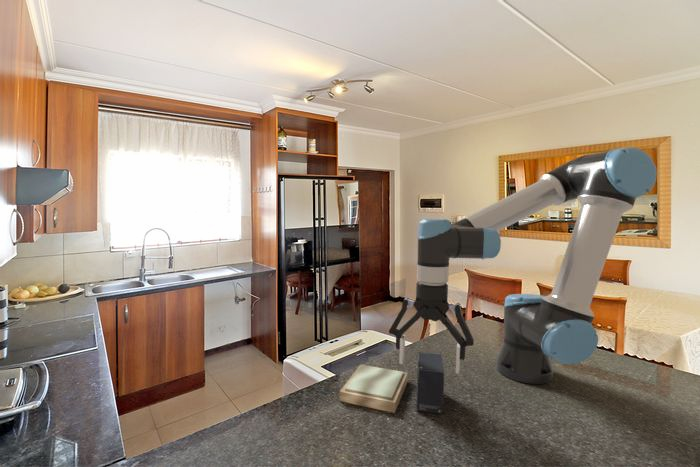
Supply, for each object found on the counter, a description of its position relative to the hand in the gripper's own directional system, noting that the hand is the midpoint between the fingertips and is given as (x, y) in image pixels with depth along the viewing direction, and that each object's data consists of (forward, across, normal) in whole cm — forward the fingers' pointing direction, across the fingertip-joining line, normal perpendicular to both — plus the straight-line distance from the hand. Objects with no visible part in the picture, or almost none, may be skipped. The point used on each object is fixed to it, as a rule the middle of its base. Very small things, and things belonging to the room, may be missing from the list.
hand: (428, 366), depth 87 cm
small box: (+9, 0, 0) cm, 9 cm away
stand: (+9, +14, 0) cm, 16 cm away
